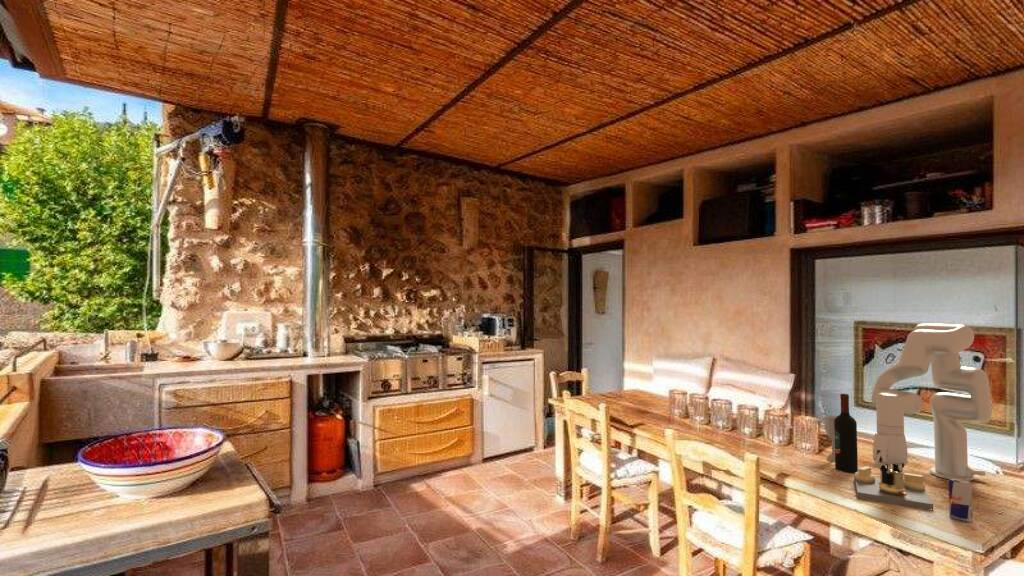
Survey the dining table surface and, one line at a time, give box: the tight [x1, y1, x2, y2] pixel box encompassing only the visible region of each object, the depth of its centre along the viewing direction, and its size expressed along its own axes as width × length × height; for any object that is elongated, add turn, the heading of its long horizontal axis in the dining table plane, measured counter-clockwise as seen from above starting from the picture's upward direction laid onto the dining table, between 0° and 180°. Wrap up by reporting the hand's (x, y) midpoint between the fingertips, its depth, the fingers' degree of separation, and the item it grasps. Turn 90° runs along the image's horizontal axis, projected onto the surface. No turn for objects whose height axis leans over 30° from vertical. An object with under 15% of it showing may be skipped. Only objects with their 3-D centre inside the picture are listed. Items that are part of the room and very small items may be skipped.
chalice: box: [822, 415, 838, 463], centre depth 212 cm, size 7×7×18 cm
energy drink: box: [947, 477, 974, 524], centre depth 154 cm, size 5×5×12 cm
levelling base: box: [853, 466, 934, 511], centre depth 174 cm, size 20×20×6 cm
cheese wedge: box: [879, 466, 906, 496], centre depth 170 cm, size 9×7×7 cm
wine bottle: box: [834, 393, 859, 474], centre depth 200 cm, size 8×8×30 cm
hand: (891, 483), depth 171 cm, fingers closed on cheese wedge, 3 cm apart
